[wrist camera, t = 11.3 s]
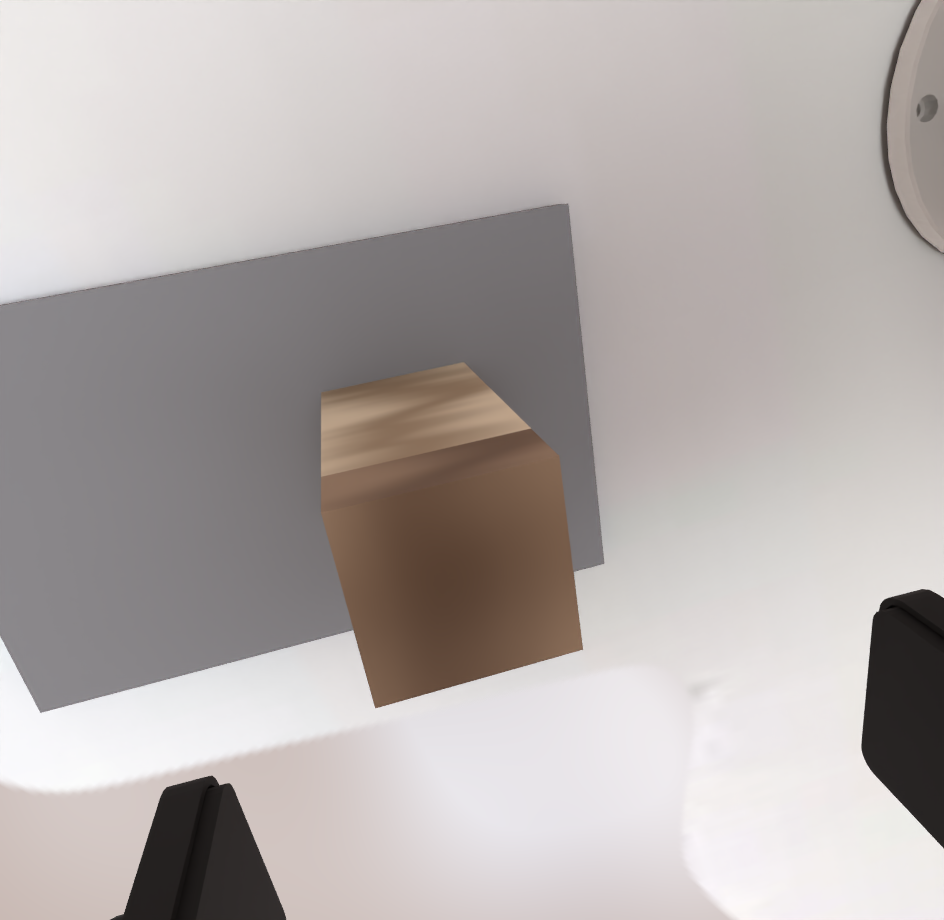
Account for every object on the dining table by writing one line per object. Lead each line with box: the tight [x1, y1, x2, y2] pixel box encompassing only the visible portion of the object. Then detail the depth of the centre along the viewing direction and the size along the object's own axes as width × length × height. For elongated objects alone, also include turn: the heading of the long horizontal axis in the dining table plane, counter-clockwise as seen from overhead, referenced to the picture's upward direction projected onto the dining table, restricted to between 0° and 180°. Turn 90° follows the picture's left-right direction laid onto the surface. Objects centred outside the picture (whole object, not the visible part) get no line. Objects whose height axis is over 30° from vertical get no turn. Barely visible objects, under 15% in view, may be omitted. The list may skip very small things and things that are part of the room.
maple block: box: [321, 362, 583, 708], centre depth 19 cm, size 5×5×10 cm
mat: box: [0, 204, 604, 713], centre depth 23 cm, size 22×14×1 cm, turn 100°
